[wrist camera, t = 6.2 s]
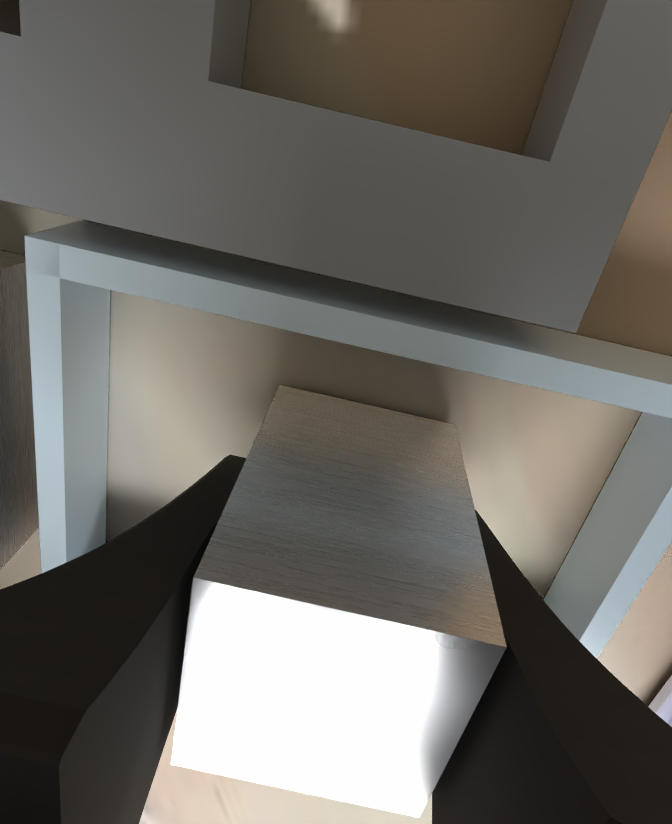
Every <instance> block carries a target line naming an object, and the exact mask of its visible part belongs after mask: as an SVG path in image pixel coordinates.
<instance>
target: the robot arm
mask: <svg viewBox="0 0 672 824" xmlns="http://www.w3.org/2000/svg"><path fill="white" fill-rule="evenodd" d="M246 459H247V458H242V457H238V456H234V455H229V456H227V457H225V458H224V459H223V460H222V461H221V462H219V463H218V464H217V465H216V466H215V467H214V468H213V469H211V470H210V471H209V472H208V473H207V474H206V475H204V476H203V477H202V478H201V479H199V480H198V481H197V482H196V483H195V484H193V485H192V486H191V487H189V488H188V489H187V490H185V491H184V492H183V493H182V494H180V495H179V496H178V497H176V498H175V499H174V500H172V501H171V502H170V503H168V504H167V505H165V506H164V507H163V508H161V509H160V510H158V511H157V512H155V513H154V514H152V515H151V516H149V517H148V518H146V519H145V520H143V521H141V522H140V523H138V524H137V525H135V526H134V527H132V528H131V529H129V530H127V531H126V532H124V533H122V534H121V535H119V536H117V537H115V538H114V539H112V540H110V541H108V542H106V543H105V544H103V545H101V546H99V547H97V548H95V549H94V550H92V551H90V552H88V553H86V554H84V555H82V556H79V557H77V558H75V559H73V560H71V561H69V562H66V563H64V564H62V565H60V566H57V567H55V568H53V569H51V570H48V571H46V572H44V573H42V574H40V575H37V576H35V577H32V578H30V579H27V580H25V581H22V582H19V583H17V584H14V585H12V586H9V587H6V588H4V589H1V590H0V824H139V821H140V818H141V815H142V812H143V809H144V806H145V803H146V799H147V796H148V793H149V790H150V787H151V784H152V781H153V778H154V775H155V772H156V769H157V766H158V763H159V760H160V757H161V754H162V751H163V748H164V745H165V742H166V739H167V737H168V734H169V731H170V728H171V725H172V722H173V719H174V716H175V713H176V710H177V707H178V701H179V693H180V685H181V676H182V668H183V660H184V651H185V643H186V635H187V626H188V618H189V610H190V601H191V593H192V585H193V577H194V575H195V573H196V571H197V568H198V566H199V564H200V562H201V559H202V557H203V555H204V553H205V550H206V548H207V546H208V544H209V541H210V539H211V537H212V535H213V533H214V530H215V528H216V526H217V524H218V521H219V519H220V517H221V515H222V512H223V510H224V508H225V506H226V503H227V501H228V499H229V497H230V494H231V492H232V490H233V488H234V486H235V483H236V481H237V479H238V477H239V474H240V472H241V470H242V468H243V465H244V463H245V461H246ZM475 513H476V517H477V522H478V526H479V530H480V535H481V539H482V543H483V547H484V552H485V556H486V560H487V565H488V569H489V573H490V577H491V582H492V586H493V590H494V595H495V599H496V603H497V608H498V612H499V616H500V620H501V625H502V629H503V633H504V638H505V642H506V646H507V648H506V650H505V651H504V653H503V655H502V657H501V659H500V661H499V663H498V665H497V667H496V669H495V671H494V673H493V675H492V677H491V679H490V681H489V683H488V685H487V687H486V689H485V691H484V692H483V694H482V696H481V698H480V700H479V702H478V704H477V706H476V708H475V710H474V712H473V714H472V716H471V718H470V720H469V722H468V724H467V726H466V728H465V730H464V731H463V733H462V735H461V737H460V739H459V741H458V743H457V745H456V747H455V749H454V751H453V753H452V755H451V757H450V759H449V761H448V763H447V765H446V767H445V769H444V771H443V772H442V774H441V776H440V778H439V780H438V782H437V784H436V786H435V788H434V790H433V792H432V824H672V675H671V677H670V678H669V679H668V681H667V682H666V683H665V685H664V686H663V687H662V689H661V690H660V691H659V693H658V694H657V696H656V697H655V698H654V700H653V701H652V702H651V704H650V705H649V706H647V705H646V704H644V703H643V702H642V701H641V700H640V699H639V698H638V697H637V696H636V695H634V694H633V693H632V692H631V691H630V690H629V689H628V688H627V687H625V686H624V685H623V684H622V683H621V682H620V681H619V680H618V679H617V678H616V677H615V676H614V675H613V674H612V673H610V672H609V671H608V670H607V669H606V668H605V667H604V666H603V665H602V664H601V663H600V662H599V661H598V660H597V659H596V658H595V657H594V656H593V655H592V653H591V652H590V651H589V650H588V649H587V648H586V647H585V646H584V645H583V644H582V643H581V642H580V641H579V640H578V639H577V638H576V637H575V636H574V635H573V634H572V633H571V632H570V630H569V629H568V628H567V627H566V626H565V625H564V624H563V623H562V622H561V620H560V619H559V618H558V617H557V616H556V614H555V613H554V612H553V611H552V610H551V609H550V607H549V606H548V605H547V604H546V603H545V602H544V600H543V599H542V598H541V597H540V595H539V594H538V593H537V592H536V590H535V589H534V588H533V587H532V585H531V584H530V583H529V582H528V580H527V579H526V578H525V576H524V575H523V574H522V573H521V571H520V570H519V569H518V567H517V566H516V565H515V563H514V562H513V561H512V559H511V558H510V556H509V555H508V554H507V552H506V551H505V550H504V548H503V547H502V545H501V544H500V543H499V541H498V540H497V538H496V537H495V536H494V534H493V533H492V531H491V530H490V529H489V527H488V526H487V524H486V523H485V522H484V520H483V519H482V518H481V516H480V515H479V514H478V512H477V511H476V510H475Z"/></svg>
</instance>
